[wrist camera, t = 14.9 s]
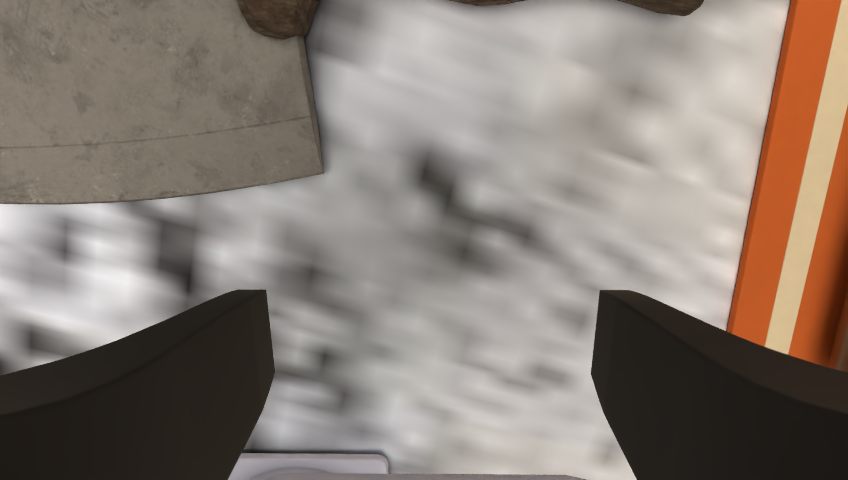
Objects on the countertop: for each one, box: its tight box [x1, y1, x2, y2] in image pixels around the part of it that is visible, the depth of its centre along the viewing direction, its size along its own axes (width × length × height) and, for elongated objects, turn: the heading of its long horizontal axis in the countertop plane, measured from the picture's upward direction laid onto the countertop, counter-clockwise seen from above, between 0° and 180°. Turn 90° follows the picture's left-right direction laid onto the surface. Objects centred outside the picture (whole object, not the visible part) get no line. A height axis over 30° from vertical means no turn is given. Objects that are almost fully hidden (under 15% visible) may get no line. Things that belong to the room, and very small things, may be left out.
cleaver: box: [0, 0, 704, 204], centre depth 18 cm, size 29×10×2 cm, turn 96°
